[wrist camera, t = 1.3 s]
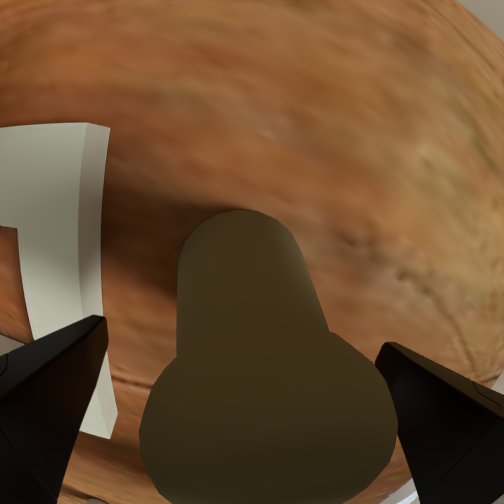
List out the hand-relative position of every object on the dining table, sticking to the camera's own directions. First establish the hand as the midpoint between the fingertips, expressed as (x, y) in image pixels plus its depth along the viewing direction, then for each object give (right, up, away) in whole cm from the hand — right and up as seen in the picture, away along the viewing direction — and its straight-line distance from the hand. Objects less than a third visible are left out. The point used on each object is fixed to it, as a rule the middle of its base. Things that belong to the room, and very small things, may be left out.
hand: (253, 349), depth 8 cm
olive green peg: (-1, +2, +6) cm, 6 cm away
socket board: (-16, +1, +4) cm, 16 cm away
